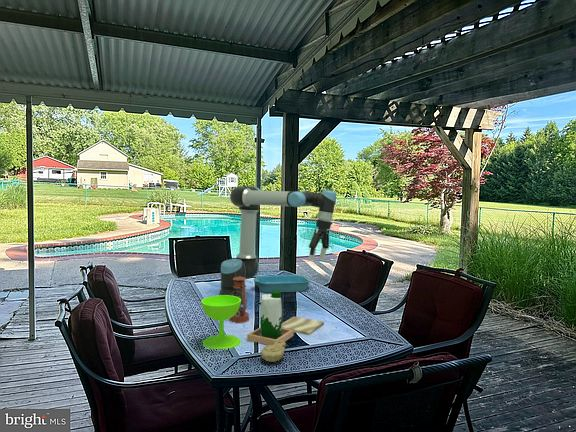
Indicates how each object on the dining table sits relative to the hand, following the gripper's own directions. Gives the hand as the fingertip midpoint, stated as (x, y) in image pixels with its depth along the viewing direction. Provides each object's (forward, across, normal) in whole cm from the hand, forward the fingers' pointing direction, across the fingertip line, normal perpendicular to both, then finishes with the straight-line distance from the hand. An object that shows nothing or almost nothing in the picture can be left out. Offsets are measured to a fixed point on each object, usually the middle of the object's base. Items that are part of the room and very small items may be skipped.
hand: (316, 260), depth 203 cm
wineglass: (+35, -55, +11) cm, 66 cm away
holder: (+31, -40, -3) cm, 51 cm away
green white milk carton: (+31, -40, -3) cm, 51 cm away
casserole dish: (+28, +34, +34) cm, 56 cm away
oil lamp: (+32, -56, -14) cm, 66 cm away
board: (+28, -21, -8) cm, 36 cm away
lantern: (+34, -28, +22) cm, 49 cm away
